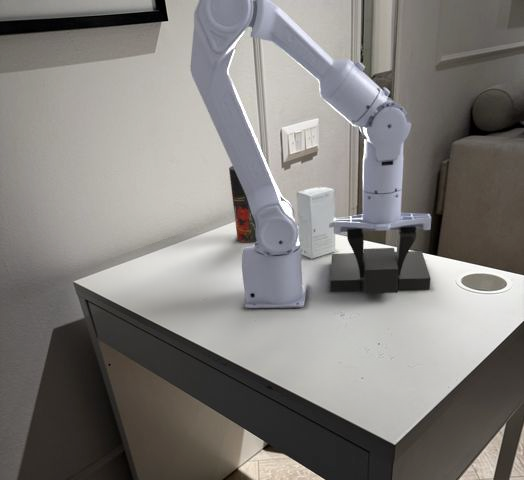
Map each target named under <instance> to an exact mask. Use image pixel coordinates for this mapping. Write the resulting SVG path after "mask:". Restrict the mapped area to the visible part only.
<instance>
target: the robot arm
mask: <svg viewBox="0 0 524 480" xmlns="http://www.w3.org/2000/svg"><path fill="white" fill-rule="evenodd" d="M249 28H252V29H251V31H250V38H253V39H256V40H257V39H258V40H262V41H267V42H271V43H273V44H274V45H275V46H277V47H278V48H279V49H280V50H281V51H283V53H285V54H286V55H288V56H289V57H290V58H291V59H292V60H294V62H296V63H297V64H298V65H300V66H301V68H302V69H304V70H305V71H306V72H308V73H309V74H310V75H312V77H314V78H315V79H316V80H317V81H318V85H319V97H320V98H321V99H322V100H323V101H325V102H326V103H327V104H328V105H329V106H331V108H332V109H334V110H335V111H336V112H337V113H338V114H339V115H340V116H342V117H343V118H344V119H345V120H347V122H349V124H351V125H352V127H353V126H354V127H358V128H359V131H360V133H361V134H362V136H363V137H366V138H365V139H364V141H363V144H364V147H363V158H362V214H355V215H349V216H343V217H342V216H341V217H335V218H334V234H335V235H336V234H341V233H347V234H346V235H347V239H346V240H347V241H348V244H349V246H350V248H351V250H352V253H354V254H355V257H356V260H357V263H358V267H359V272H360V276H364V260H363V250H364V246H365V245H364V244H365V243H364V232H374V231H375V232H376V231H377V232H379V231H380V232H381V231H383V232H384V231H396V252H397V253H396V260H397V265H398V275H400V274H401V269H402V265H403V262H404V260H405V257H406V255H407V253H408V251H410V249H411V248H412V246H413V245H414V243H415V241H416V239H417V230H423V231H431V227H432V226H431V224H432V216H431V214H430V213H411V212H402V197H403V195H402V194H403V178H404V176H403V175H404V160H405V159H404V146H405V145H404V142H405V140H407V138H408V136H409V134H410V131H411V128H412V123H411V122H410V118H409V114H408V112H407V110H406V109H405V107H403V106H402V105H401V104H400V103H397V102H395V101H394V100H393V99H392V98H391V97H389V96H390V94H391V91H390V90H389V89H388V88H387V87H385V86H384V87H382V88H381V87H380V86H379V85H378V84H377V83H376V82H375V81H374V80H372V79H371V78H370V77H369V76H368V75H367V74H366V73H365V72H364V70H366V66H365V65H364V64H363V63H362V62H361V61H359V60H356V61H354V62H353V61H352V60H351V59H350V58H341V59H333V58H332V57H331V56H330V54H328V53H327V52H326V51H325V50H324V49H323V48H322V47H321V46H320V45H319V44H318V43H317V42H316V41H314V39H312V37H310V36H309V34H308V33H306V32H305V31H304V30H303V29H302V28H301V27H300V25H298V24H297V23H296V22H295V21H294V20H293V18H291V17H290V15H288V14H287V13H286V12H285V11H284V10H283V9H282V8H280V6H278V5H277V4H275V3H274V2H272V1H271V0H198V2H197V5H196V7H195V9H194V12H193V34H192V43H191V55H190V56H191V57H190V74H191V76H192V79H193V81H194V83H195V86H196V88H197V90H198V93H199V95H200V96H201V99H202V101H203V103H204V105H205V107H206V110H207V112H208V115H209V117H210V119H211V122H212V123H213V125H214V127H215V130H216V132H217V134H218V137H219V139H220V141H221V143H222V145H223V148H224V150H225V152H226V154H227V156H228V158H229V161H230V164H231V166H233V168H234V170H235V172H236V174H237V176H238V179H239V181H240V183H241V185H242V187H243V190H244V192H245V194H246V196H247V200H248V203H249V206H250V210H251V213H252V215H253V218H254V220H255V223H256V239H257V241H256V242H254V246H248V247H244V248H243V249H242V254H241V273H242V281H243V290H244V291H243V292H244V299H245V305H244V306H245V308H246V309H277V308H281V309H282V308H283V309H285V308H303V307H304V306H305V300H306V296H307V295H306V294H307V288H308V285H307V284H306V283H303V270H302V267H303V266H302V254H301V247H300V240H299V229H298V223H297V222H296V219H295V218H296V217H295V209H294V207H293V206H292V203H290V202H289V200H287V199H286V198H284V197H283V195H282V194H281V192H280V189H279V187H278V185H277V183H276V181H275V179H274V178H273V175H272V173H271V171H270V168H269V166H268V165H269V164H268V163H267V161H266V158H265V156H264V154H263V151H262V149H261V146H260V144H259V142H258V138H257V137H256V135H255V132H254V129H253V127H252V125H251V122H250V119H249V118H248V116H247V113H246V110H245V108H244V105H243V104H242V101H241V99H240V97H239V93H238V92H237V89H236V85H235V84H234V81H233V79H232V77H231V75H230V72H229V69H230V66H231V63H232V60H233V57H234V54H235V52H236V46H237V44H239V41H240V40H241V39H242V37H244V35H245V33H246V32H247V30H248V29H249Z"/></svg>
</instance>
